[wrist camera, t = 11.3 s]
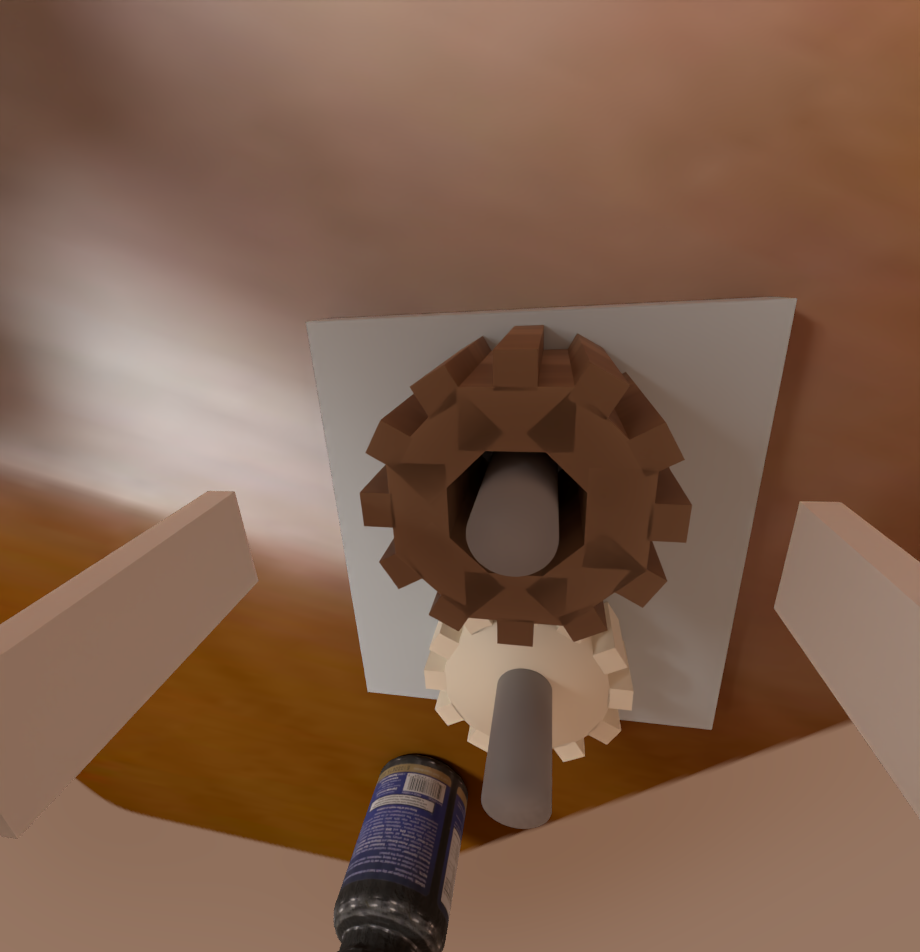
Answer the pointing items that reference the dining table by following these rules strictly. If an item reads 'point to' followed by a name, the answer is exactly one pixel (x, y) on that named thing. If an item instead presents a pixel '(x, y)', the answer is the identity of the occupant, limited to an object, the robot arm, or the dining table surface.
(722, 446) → the gear board
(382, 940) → the pill bottle
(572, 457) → the walnut gear
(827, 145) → the dining table surface
